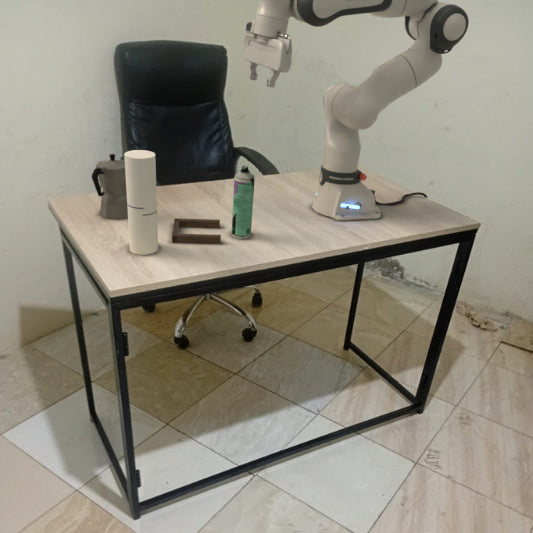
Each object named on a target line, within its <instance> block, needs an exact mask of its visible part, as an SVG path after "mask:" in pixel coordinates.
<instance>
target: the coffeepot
mask: <svg viewBox="0 0 533 533" xmlns="http://www.w3.org/2000/svg"><path fill="white" fill-rule="evenodd" d="M91 180H92V182H93V185H94V188H95V191H96V193H97V196H98V197H101V199H100V210H99V215H100V216H101V217H102V218H105V219H107V220H122V219H123V220H124V219H126V218H128V208H127V191H126V174H125V159H116V154H114V153H110V154H109V159H106V160H101V161H98V162H97V163H96V164H95V168H94V169H93V172H92V173H91Z"/></svg>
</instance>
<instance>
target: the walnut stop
mask: <svg viewBox="0 0 533 533" xmlns="http://www.w3.org/2000/svg"><path fill="white" fill-rule="evenodd" d="M220 225H221V219H211V218H210V219H209V218H208V219H206V218H200V219H199V218H176V217H175V218H174V219H173V227H172V234H171V243H172V244H174V243H175V244H176V243H177V244H213V245H214V244H219V245H220V244H221V243H222V237H221V234H207V233H205V234H200V233H199V234H198V233H180V228H201V229H202V228H203V229H207V228H208V229H220V227H221V226H220Z"/></svg>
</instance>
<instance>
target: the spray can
mask: <svg viewBox="0 0 533 533" xmlns="http://www.w3.org/2000/svg"><path fill="white" fill-rule="evenodd" d="M255 181H256V180H255V175H254V174H253V173H251V171H250V169H249V166H248V165H243V166H241V169H240V170H239V172H236V173H235V174H234V178H233V197H232V198H233V200H232V219H231V236H232V237H233V238H234V239H237V240H246V239H249V238H251V235H252V223H253V210H254V197H255V196H254V195H255Z"/></svg>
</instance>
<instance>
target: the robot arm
mask: <svg viewBox="0 0 533 533" xmlns="http://www.w3.org/2000/svg"><path fill="white" fill-rule="evenodd" d="M362 14H370V15H371V16H372V17H377V18H384V19H385V18H386V19H391V18H392V19H393V18H403V17H404V29H405V32H406V34H407V35H408V36H409V37H410V39H412V40H414V43H413V44H412V45H411V46H410V47H409V48H407V49H406V50H404V51H402V52H401V53H399V54H397V55H396V56H394V57H391V58H390V59H389V60H387V61H385V62H384V63H382V64H380V65H378V66H377V67H375V68H374V69H373V71H372V73H371V74H370V75H369V76H368V77H367V78H366V79H365V80H364V81H362V82H360V83H359V84H357V85H352V84H350V83H347V82H337V83H333V84H331V85H330V86H327V88H326V89H325V91H324V93H323V96H322V105H323V109H324V132H325V135H324V136H325V138H324V140H325V142H324V150H323V159H322V165H321V166H320V170H319V175H318V183H319V185H318V189H317V192H316V193H315V198H314V200H313V203H312V205H311V209H312V210H313V211H314V212H316V213H318V214H320V215H322V216H325V217H329V218H332V219H334V220H336V221H358V220H376V219H380V218H381V215H382V212H381V210H380V208H379V207H378V205H379V206H395V205H398V204H401V203H403V202H404V201H405V200H406V198H407V197H412V196H423V197H424V198H426V199H428V198H429V197H428V195H427V194H426V193H424V192H417V191H416V192H411V193H407V194H404V195H402V197H401V199H400V200H397V201H392V202H388V203H382V202H379V201H377V199H376V195H375V194H376V190H373V189H370V188H369V187H368V186H367V185H366V184H365V183H363V181H366V180H367V179H368V176H367V174H365V173H364V172H362V171H361V170H360V169H358V167H359V161H360V154H361V149H362V143H361V140H360V132H359V130H361V131H363V130H366V129H369V128H371V127H372V126H373V125H374V124H375V123H376V121H377V119H378V117H379V115H380V114H381V113H382V112H383V111H384V110H385V109H386V108H387V107H389V106H390V105H391V104H392V103H394V102H395V101H396V100H398V99H400V98H402V97H404V96H405V95H407V94H408V93H410V92H412V91H414V90H415V89H417V88H418V87H420V86H422V85H423V84H424V83H426V82H427V81H429V80H430V79H431V78H432V77H433V76H435V75H436V74H437V73H438V72H439V71H440V70H441V68H442V65H443V55H444V54H445V55H446V54H448V53H450V52H452V50H453V48H454V47H455V46H456V45H457V44H458V43H460V42H461V40H463V38H464V37H465V35H466V33H467V32H468V28H469V21H470V20H469V16H468V14H467V12H466V11H465V10H464V9H463V8H462V7H460V6H459V5H456V4H451V3H446V2H439V0H258V8H257V10H256V12H255V17H254V18H253V19H252V20H249V21H246V22H245V24H244V32H245V33H244V36H243V40H242V48H241V57H242V60H244V61H247V62H248V70H249V76H248V78H249V80H252V81H257V80H258V73H257V68H258V66H261V67H264V68H267V69H270V77H269V79H267V78H266V87H268V88H275V86H276V81H277V80H278V79H279V77H280V74H281V73H285V74H286V73H289V71H291V70H290V69H291V64H292V58H293V45H292V38H291V37H290V34H288V27H289V21H290V18H293V19H294V20H296V21H298V22H300V23H304V24H307V25H309V26H312V27H317V28H318V27H319V28H321V27H324V26H327V25H329V24H330V23H332V22H333V21H335V20H336V19H338V18H340V17H346V16H354V15H362Z"/></svg>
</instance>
